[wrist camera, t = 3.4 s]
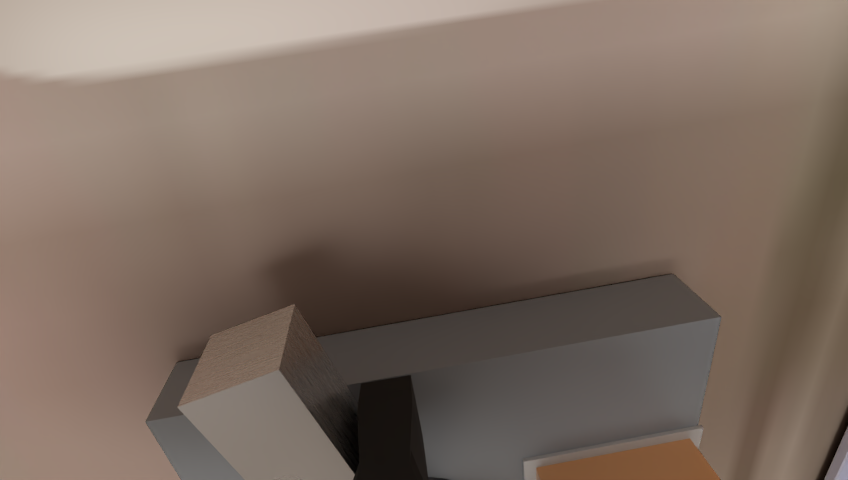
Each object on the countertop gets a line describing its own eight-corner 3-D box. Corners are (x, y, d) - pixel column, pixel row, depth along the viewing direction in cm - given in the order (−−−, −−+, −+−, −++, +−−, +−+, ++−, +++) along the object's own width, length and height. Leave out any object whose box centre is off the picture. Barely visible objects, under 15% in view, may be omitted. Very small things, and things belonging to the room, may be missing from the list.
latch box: (676, 273, 13) (728, 318, 11) (641, 505, 18) (673, 562, 16) (176, 362, 12) (143, 425, 11) (287, 574, 18) (278, 641, 16)
